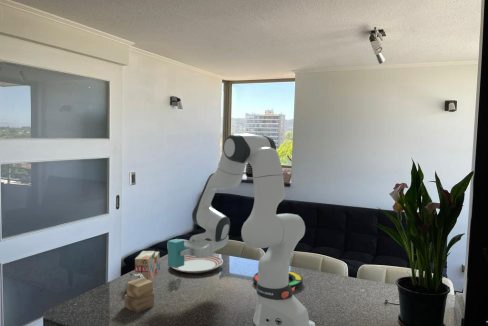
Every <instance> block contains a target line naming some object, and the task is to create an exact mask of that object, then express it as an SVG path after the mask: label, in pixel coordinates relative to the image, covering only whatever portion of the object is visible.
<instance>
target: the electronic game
mask: <svg viewBox="0 0 488 326" xmlns="http://www.w3.org/2000/svg"><path fill="white" fill-rule="evenodd" d="M252 278H253V279H252V280H253V283H254V284H255V285H257V282H258V272H256V273H254V274H253V277H252ZM290 280H291V281H290ZM288 282H289V284H290V287H291V289H292V288H293V287H295V288H294V289H297V288H298V287H300V286H301V285H302V284H303V282H304V280H303V277H302V276H301V274H299V273H297V272H294V271H292V270H289V281H288Z"/></svg>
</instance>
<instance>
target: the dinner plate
mask: <svg viewBox="0 0 488 326" xmlns="http://www.w3.org/2000/svg"><path fill="white" fill-rule="evenodd" d="M223 263H224V260H223V259H222V258H221V257H219V256H216V255H214V256H209V257H205V258H199V257H195V256H191V255H184V266H181V267H178V268H174V267H171V269H173V270H176V271H179V272H183V273H186V274H187V273H188V274H202V273H208V272H210V271H213V270H215V269H217V268H219V267H221V266H222V265H223Z"/></svg>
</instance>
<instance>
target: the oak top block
mask: <svg viewBox="0 0 488 326" xmlns="http://www.w3.org/2000/svg"><path fill="white" fill-rule="evenodd" d="M126 284H127V285H126V294H127V295H128V296H131V297H133V298H135V299H138V300H139V299H141V298H144V297H146V296H149V295H151V294H154V293H153V292H154V281H153V280H152V281H150V280H147V279H144V278H139V279H136V280H133V281H130V282H129V281H128V282H126Z"/></svg>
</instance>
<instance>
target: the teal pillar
mask: <svg viewBox="0 0 488 326" xmlns="http://www.w3.org/2000/svg"><path fill="white" fill-rule="evenodd" d="M180 239H181V238H175V239H169V240H168V241H167V243H168V249H167V266H168V267H170V268H172V267H174V268H178V267H181V266H184V256H185V255H183V256H180V255H179V251H180V250H184V240H185V239H184V240H180Z"/></svg>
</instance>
